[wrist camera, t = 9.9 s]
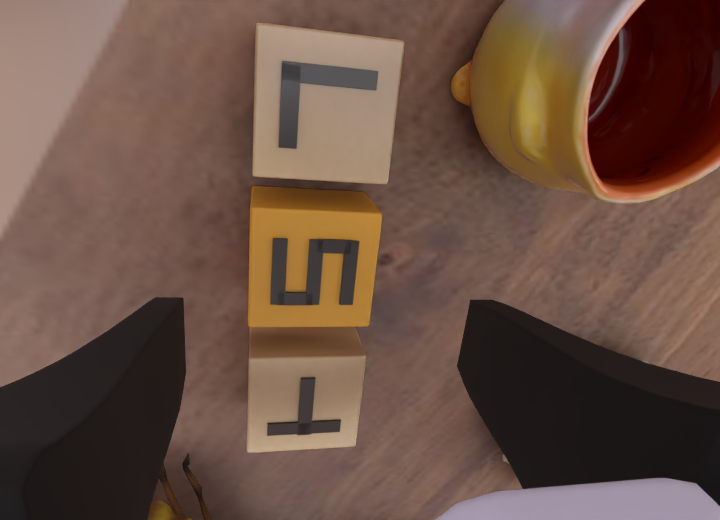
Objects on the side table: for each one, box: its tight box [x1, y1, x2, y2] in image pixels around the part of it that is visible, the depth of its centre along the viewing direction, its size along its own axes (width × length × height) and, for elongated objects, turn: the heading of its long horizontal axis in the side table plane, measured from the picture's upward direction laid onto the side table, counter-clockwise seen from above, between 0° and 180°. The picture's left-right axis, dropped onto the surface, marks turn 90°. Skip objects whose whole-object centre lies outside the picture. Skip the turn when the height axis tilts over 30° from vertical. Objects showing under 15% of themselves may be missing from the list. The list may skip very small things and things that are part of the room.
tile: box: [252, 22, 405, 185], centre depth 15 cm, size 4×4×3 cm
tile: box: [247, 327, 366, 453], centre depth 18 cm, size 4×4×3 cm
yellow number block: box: [248, 186, 382, 327], centre depth 16 cm, size 4×4×3 cm
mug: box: [451, 0, 720, 204], centre depth 14 cm, size 12×7×7 cm, turn 138°
